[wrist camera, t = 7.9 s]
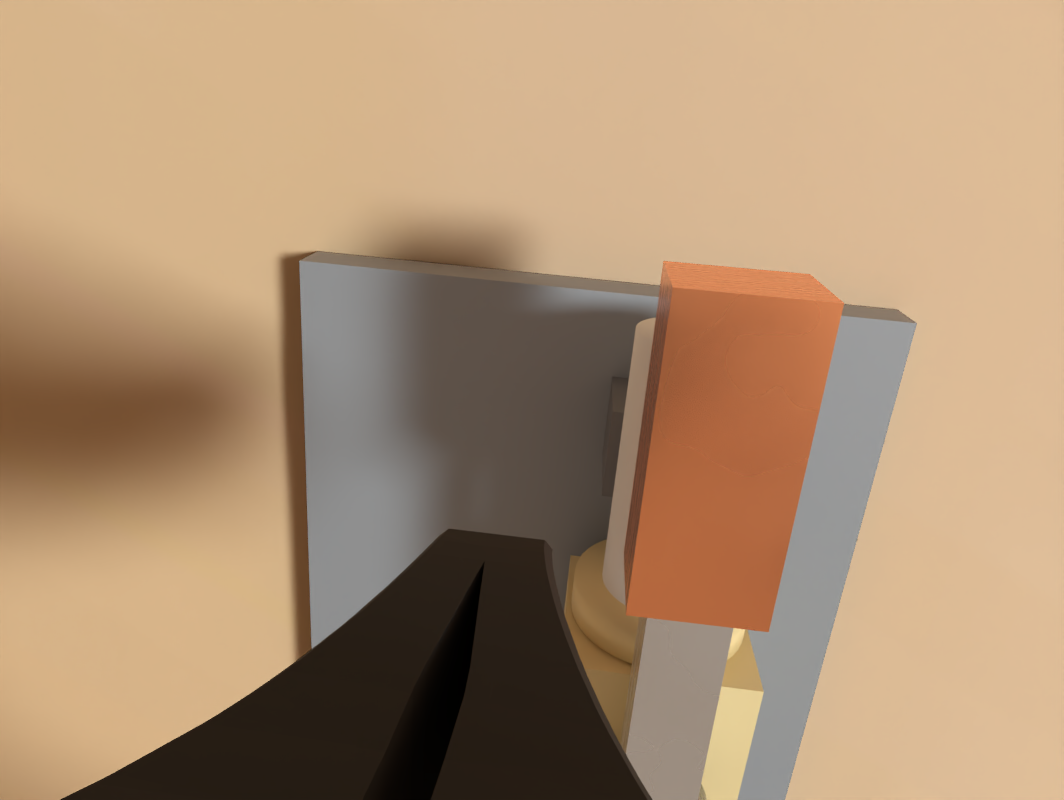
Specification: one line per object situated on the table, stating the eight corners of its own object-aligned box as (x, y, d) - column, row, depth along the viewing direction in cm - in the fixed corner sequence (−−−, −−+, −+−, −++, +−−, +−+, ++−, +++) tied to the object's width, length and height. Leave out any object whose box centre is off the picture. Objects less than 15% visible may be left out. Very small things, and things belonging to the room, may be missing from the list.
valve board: (754, 850, 25) (800, 1089, 19) (330, 790, 25) (244, 1000, 19) (897, 309, 18) (1040, 411, 12) (317, 251, 19) (182, 319, 13)
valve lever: (696, 843, 16) (706, 930, 14) (581, 827, 16) (578, 911, 14) (817, 275, 11) (851, 303, 10) (657, 260, 12) (665, 286, 10)
